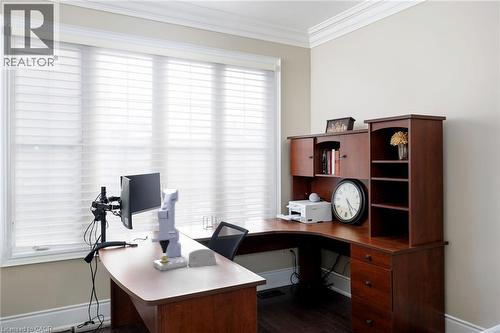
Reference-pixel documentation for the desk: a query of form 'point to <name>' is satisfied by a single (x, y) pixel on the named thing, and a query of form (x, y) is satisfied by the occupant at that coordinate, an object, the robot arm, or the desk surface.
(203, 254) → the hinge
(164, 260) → the bushing
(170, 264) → the jig
